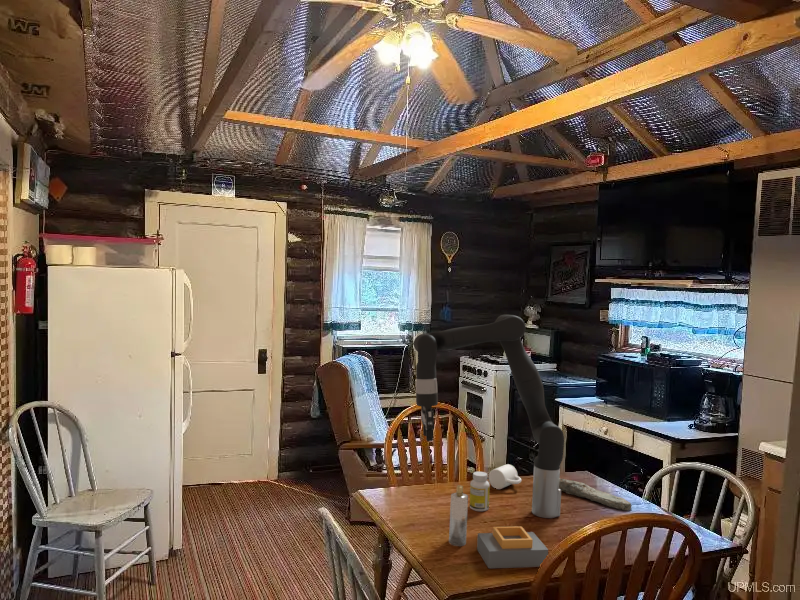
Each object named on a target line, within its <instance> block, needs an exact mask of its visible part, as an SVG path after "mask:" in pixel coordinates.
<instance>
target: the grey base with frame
mask: <svg viewBox="0 0 800 600" xmlns="http://www.w3.org/2000/svg"><path fill="white" fill-rule="evenodd" d="M476 542H477V545H476V550H477V552H478V554H479V555H480V557H481V558H482V560H483V562H484V564H485V565H486V566H487V568H488V569H509V568H510V569H511V568H516V569H517V568H540V567H539V566H540V564H541V563H542V562H543V560H544V559H545V558H546V556H547V555H548V556H549V549H548V548H547V547H546V545H545V544H544V542H542V541H541V540H540V538H539V537H538V536H537V535H536V534H535V532H534V531H526V529H525V528H523V526H517V525H516V526H515V525H514V526H493V527H492V532H483V533H482V532H481V533H480V532H479V533H477V541H476Z"/></svg>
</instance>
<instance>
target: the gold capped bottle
mask: <svg viewBox="0 0 800 600" xmlns="http://www.w3.org/2000/svg"><path fill="white" fill-rule="evenodd" d="M468 504H469V495H468V494H466V493H464V486H463V485H461V484H460V485H459V484H457V485H456V492H452V493H451V494H450V509H449V531H448V532H449V534H448V535H449V537H448V543H449V544H450V545H451V546H455V547H463V546H466V544H467V529H468V508H469V507H468V506H469V505H468Z"/></svg>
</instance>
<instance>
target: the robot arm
mask: <svg viewBox="0 0 800 600" xmlns="http://www.w3.org/2000/svg"><path fill="white" fill-rule="evenodd" d="M525 332H526V323H525V321H524V320H523V319H522V318H521V317H520V316H517V315H514V314H500V315H499V316H498V317H497V318H496V319H495V321H494V322H491V323H485V324H481V325H479V324H478V325H469V326H468V325H467V326H460V327H455V328H449V329H446V330H442V331H441V330H440V331H434V332H425V333H421V334H418V335H417V336H416V337H415V338H414V340H413V347H414V349H415V351H416V352H417V363H416V364H415V377H416V380H415V403H416V406H417V407H420V409H421V411H420V413H421V414H420V415H421V422H422V423H421V425H422V433H423V436H424V437H426V441H427V442H433V441H434V429H435V419H434V418H435V417H434V414H435V413H434V412H435V411H434V410H433V408H432V407H436V406H437V405H438V404H439V396H438V395H439V393H438V381H437V380H438V379H437V365H436V364H437V356H438V351H442V350H443V351H444V350H445V351H447V350H455V349H460V348H464V347H468V346H474V345H478V344H484V343H490V342H498V341H499V344H500V345H501V347H502V349H503V351H504V354H505V356H506V359H507V363H508V367H509V370H510V373H511V374H512V378H513V380H514V384H515V387H516V389H517V392H518V394H519V397H520V400H521V402H522V405H523V407H524V408H525V411H526V413H527V416H528V420H529V421H528V422H529V425H530V430H531V433H532V436H533V439H534V441H535V442H536V443H537V445H538V453H537V456H535V457H534V459H533V460H534V461H533V482H532V498H531V501H532V503H531V513H532V514H533V515H534V516H536V517H539V518H545V519H553V518H557V517H561V506H562V505H561V501H562V491H561V490H560V489H559V479H561V477H560V475H561V474H560V472H561V464H562V462H563V458H564V447H565V434H564V431H563V430H562V428H560V427H559V426H558V425H557V424H555V423H554V422H553V421H552V419H551V417H550V414H549V413H548V410H547V407H546V403H545V401H546V400H545V389H544V384H543V382H542V378H541V375H540V372H539V371H538V368H537V366H536V365H535V363H534V361H533V360H532V358H531V357H530V355H529V354H528V352H527V351H526V349H525V347H524V345H523V342H522V339H521V338H522V337H523V336H524V334H525Z"/></svg>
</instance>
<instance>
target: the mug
mask: <svg viewBox="0 0 800 600" xmlns="http://www.w3.org/2000/svg"><path fill="white" fill-rule="evenodd" d="M488 482H489V484H490V485H491V487H492V488H494V489H495V488H496V490H501V489H504V488H506V487H508V486H510V485H519V484H520V483H521V482H522V478H521V477H520V476H519V475H518V471H517V469H516V468H515V466H514V465H512V464H509V463H507V464H504V465H501V466H498V467H496V468H494V469H491V470H490V472H489V473H488Z"/></svg>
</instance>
